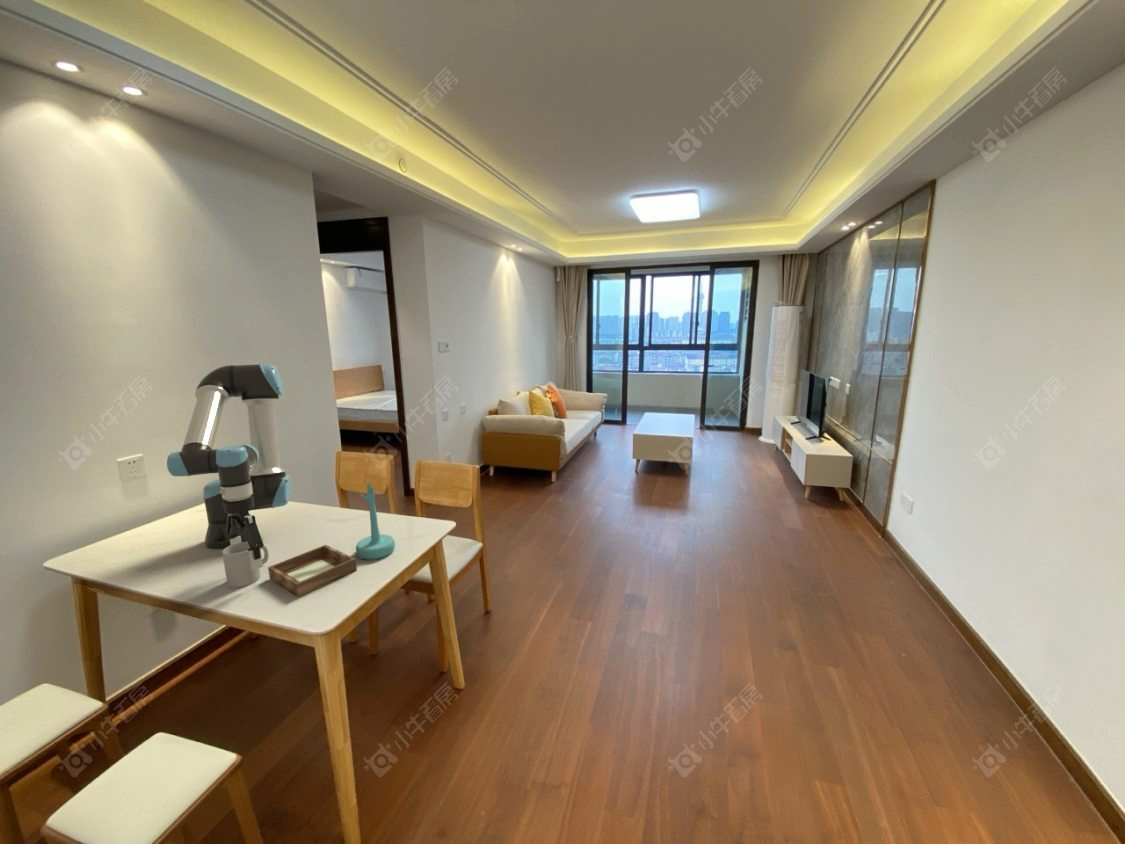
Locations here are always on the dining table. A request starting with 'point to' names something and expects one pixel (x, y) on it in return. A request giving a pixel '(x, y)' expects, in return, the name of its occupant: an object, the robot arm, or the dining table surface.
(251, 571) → the mug
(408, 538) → the dining table surface
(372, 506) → the teal branch stand
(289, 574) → the walnut box
